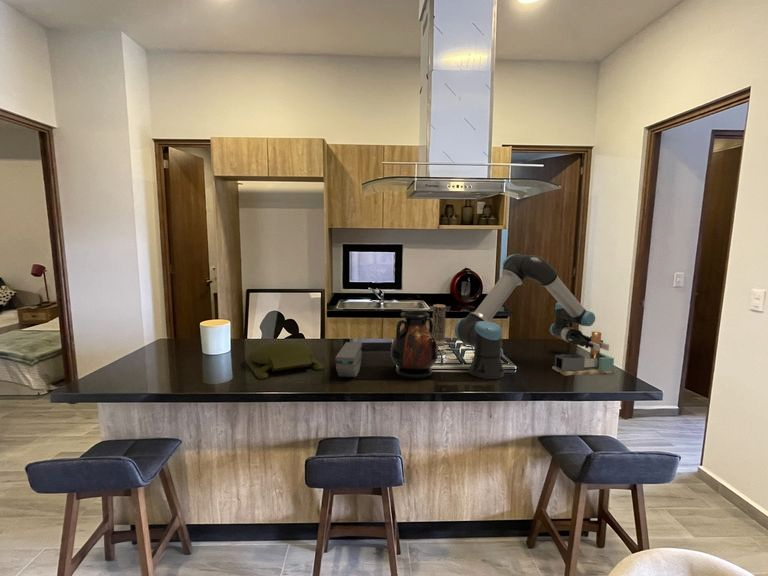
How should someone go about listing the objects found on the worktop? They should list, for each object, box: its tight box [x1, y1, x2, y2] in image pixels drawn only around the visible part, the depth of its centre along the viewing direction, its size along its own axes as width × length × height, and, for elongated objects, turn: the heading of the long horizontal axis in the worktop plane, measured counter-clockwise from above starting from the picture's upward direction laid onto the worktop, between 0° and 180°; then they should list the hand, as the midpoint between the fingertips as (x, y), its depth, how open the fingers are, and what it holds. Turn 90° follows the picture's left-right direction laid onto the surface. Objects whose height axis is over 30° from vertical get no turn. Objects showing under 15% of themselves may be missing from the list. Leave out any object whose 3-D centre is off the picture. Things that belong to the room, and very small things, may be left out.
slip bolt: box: [582, 331, 602, 367], centre depth 193 cm, size 15×4×16 cm, turn 100°
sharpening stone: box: [335, 341, 363, 378], centre depth 187 cm, size 25×8×11 cm, turn 175°
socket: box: [588, 352, 615, 371], centre depth 195 cm, size 6×9×6 cm, turn 10°
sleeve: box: [554, 353, 585, 372], centre depth 192 cm, size 11×6×6 cm, turn 100°
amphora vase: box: [390, 310, 439, 379], centre depth 186 cm, size 22×22×28 cm
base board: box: [552, 365, 614, 376], centre depth 194 cm, size 25×10×1 cm, turn 100°
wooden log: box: [432, 303, 447, 347], centre depth 226 cm, size 7×7×25 cm
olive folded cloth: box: [245, 341, 325, 380], centre depth 198 cm, size 35×31×10 cm
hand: (603, 347), depth 188 cm, fingers closed on slip bolt, 4 cm apart
